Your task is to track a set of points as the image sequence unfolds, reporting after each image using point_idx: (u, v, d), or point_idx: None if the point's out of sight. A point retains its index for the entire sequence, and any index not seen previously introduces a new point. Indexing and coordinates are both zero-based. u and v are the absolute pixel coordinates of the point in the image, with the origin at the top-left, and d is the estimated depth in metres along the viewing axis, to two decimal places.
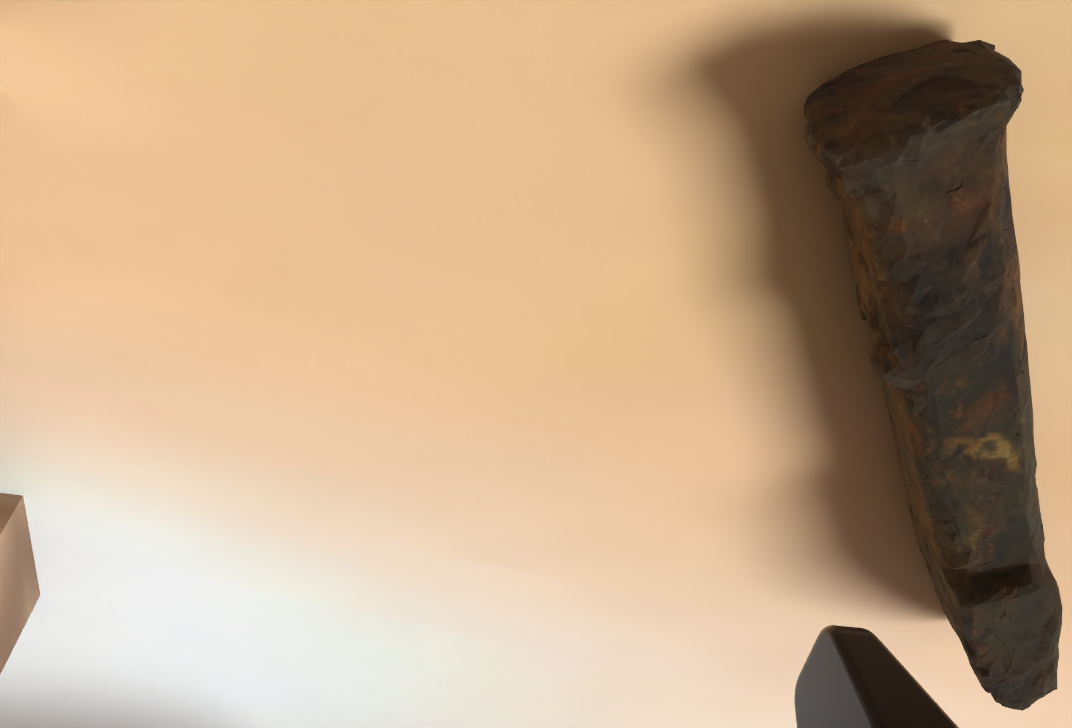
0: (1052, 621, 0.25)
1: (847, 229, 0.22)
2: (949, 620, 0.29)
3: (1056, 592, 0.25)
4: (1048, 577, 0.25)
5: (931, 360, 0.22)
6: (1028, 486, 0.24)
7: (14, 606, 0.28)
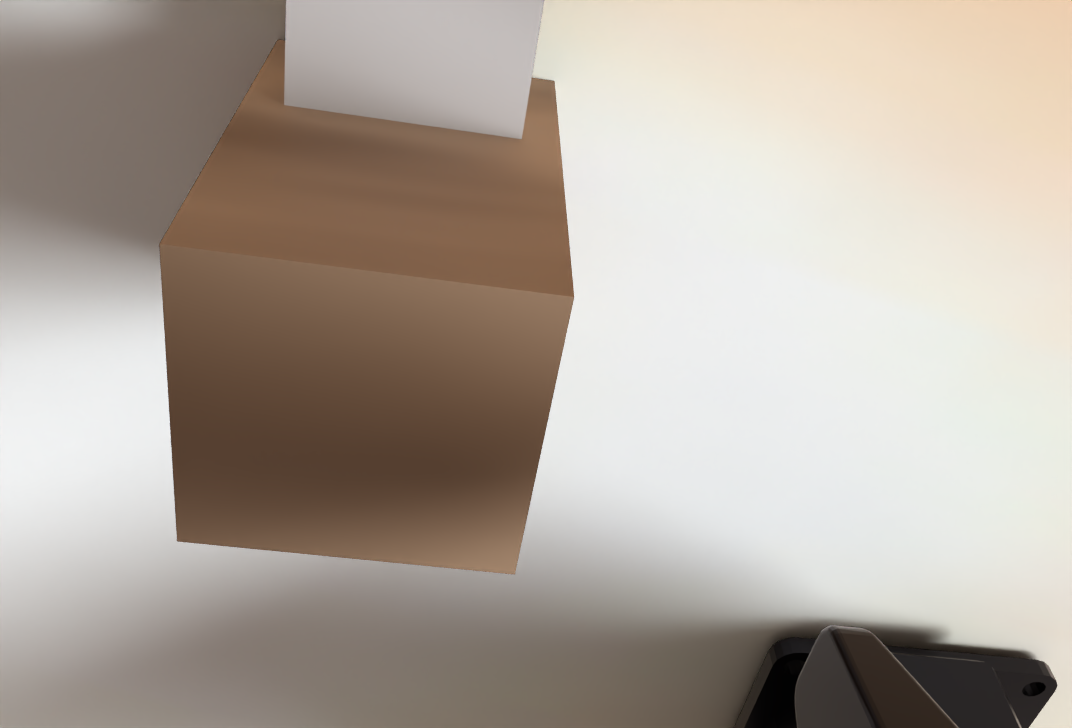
0: None
1: None
2: None
3: None
4: None
5: None
6: None
7: None
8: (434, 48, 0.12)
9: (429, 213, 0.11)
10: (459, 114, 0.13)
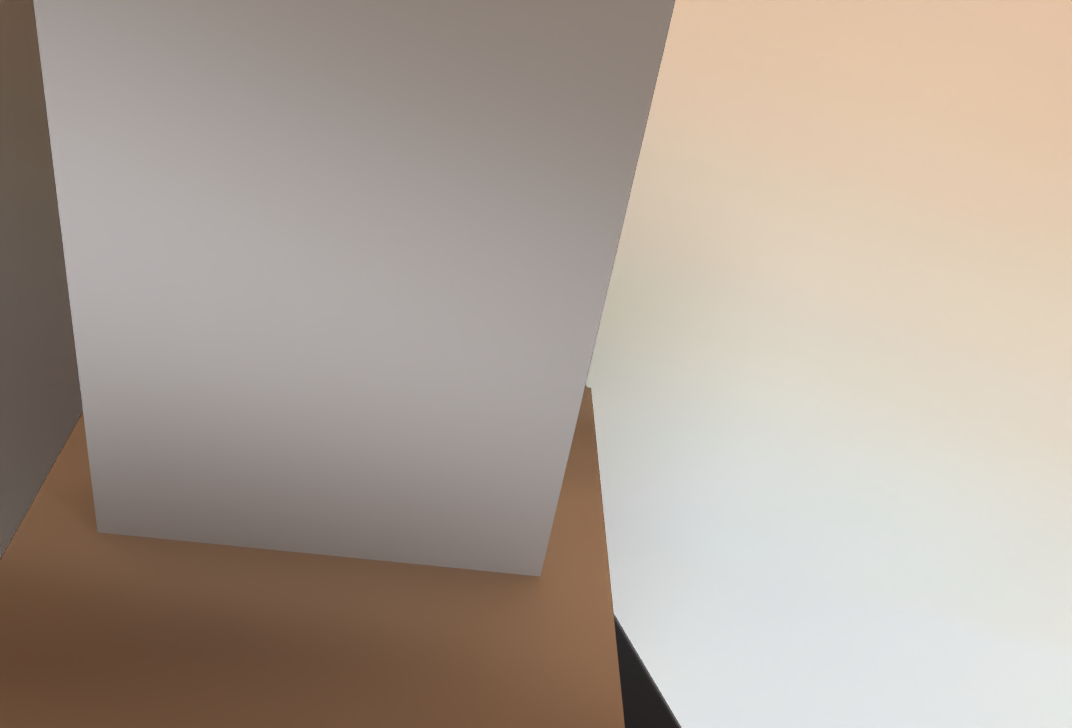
0: None
1: None
2: None
3: None
4: None
5: None
6: None
7: None
8: (375, 448, 0.06)
9: None
10: (425, 543, 0.07)
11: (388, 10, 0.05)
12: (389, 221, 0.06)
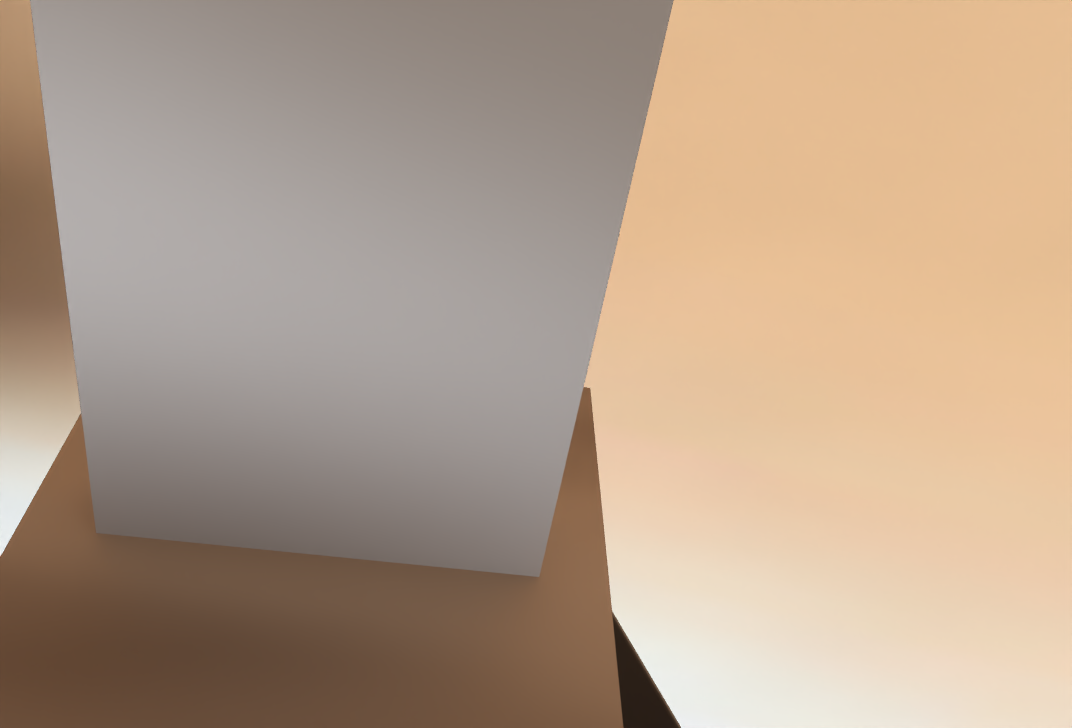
0: None
1: None
2: None
3: None
4: None
5: None
6: None
7: None
8: (373, 449, 0.06)
9: None
10: (424, 543, 0.07)
11: (385, 11, 0.05)
12: (387, 223, 0.06)
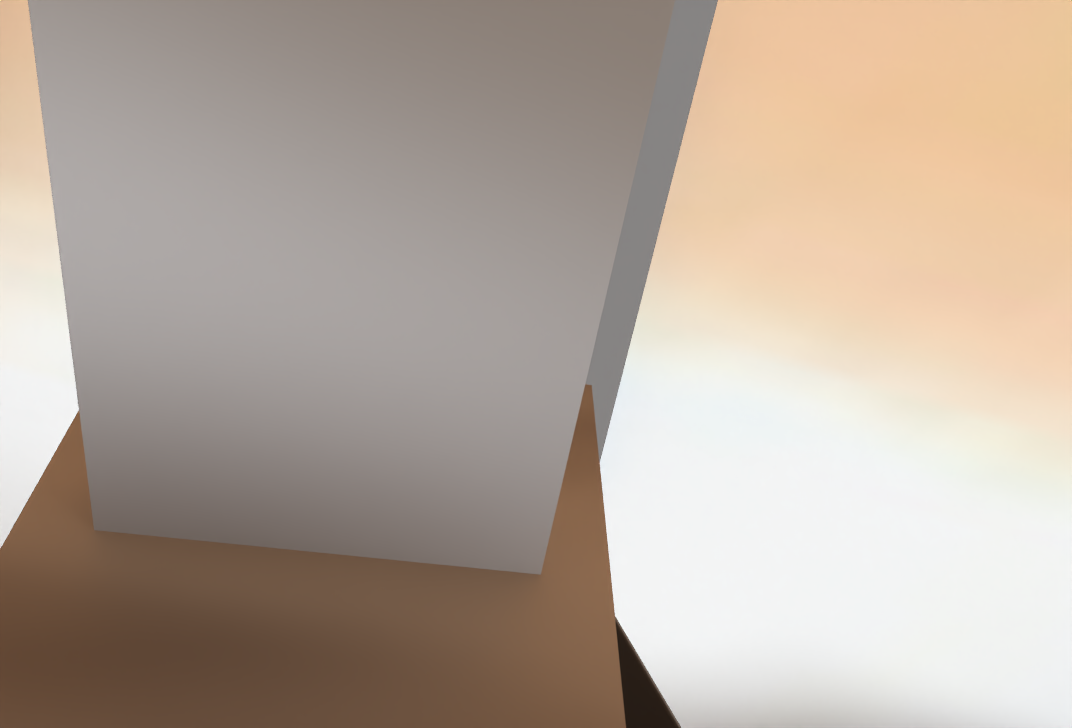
0: None
1: None
2: None
3: None
4: None
5: None
6: None
7: None
8: (374, 445, 0.06)
9: None
10: (423, 540, 0.07)
11: (386, 0, 0.05)
12: (388, 216, 0.05)
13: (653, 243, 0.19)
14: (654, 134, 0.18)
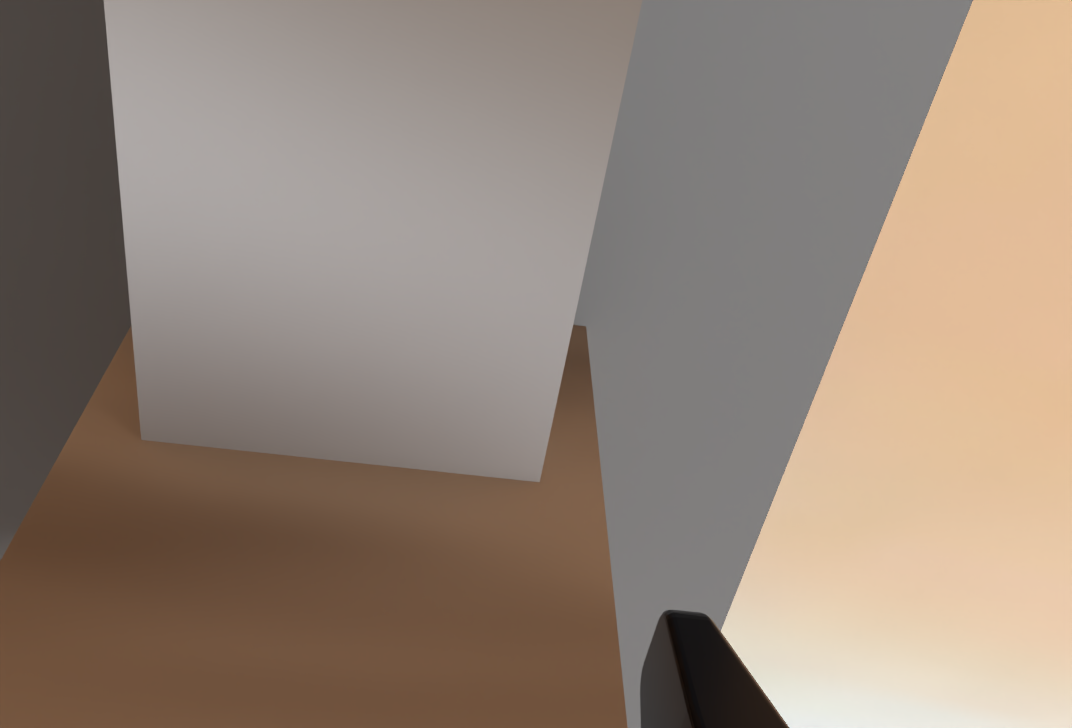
0: None
1: None
2: None
3: None
4: None
5: None
6: None
7: None
8: (391, 359, 0.07)
9: None
10: (436, 450, 0.08)
11: None
12: (405, 147, 0.06)
13: (736, 585, 0.12)
14: (747, 445, 0.11)
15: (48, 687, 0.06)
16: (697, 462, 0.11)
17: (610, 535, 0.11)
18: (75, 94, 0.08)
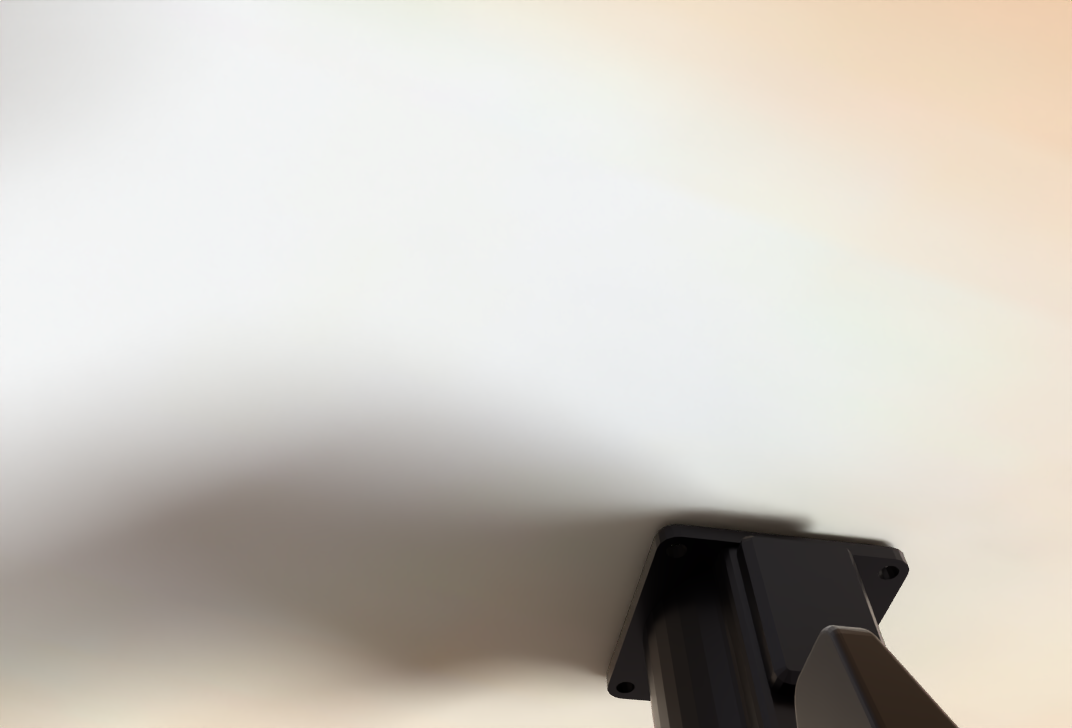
0: None
1: None
2: None
3: None
4: None
5: None
6: None
7: None
8: None
9: None
10: None
11: None
12: None
13: None
14: None
15: None
16: None
17: None
18: None
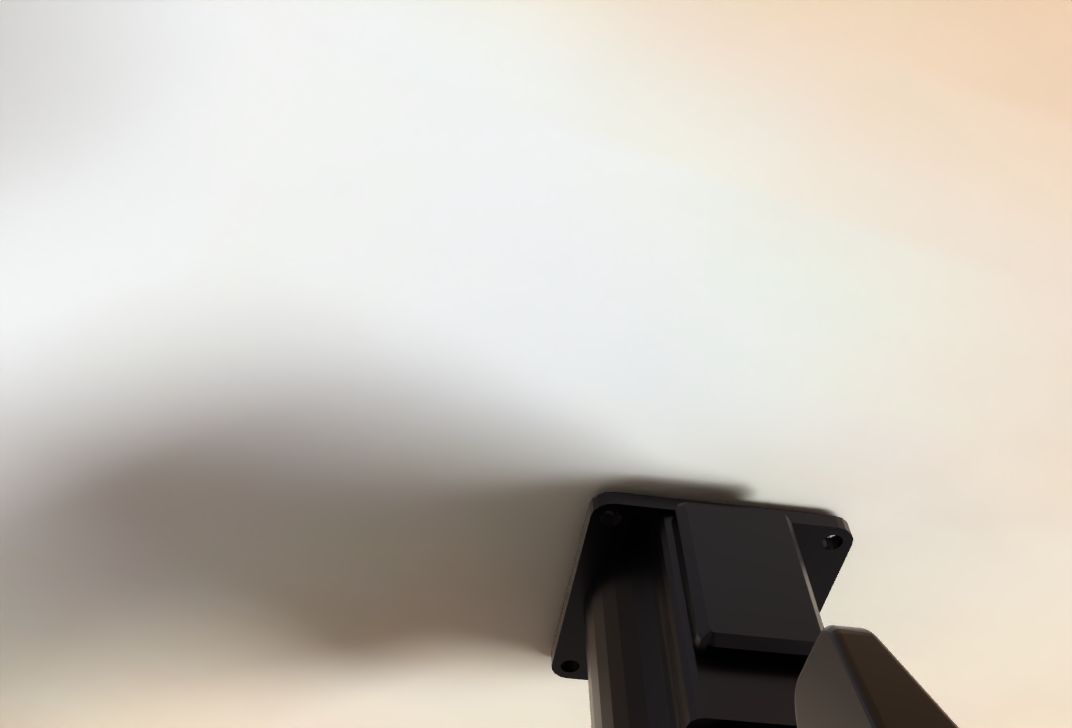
0: None
1: None
2: None
3: None
4: None
5: None
6: None
7: None
8: None
9: None
10: None
11: None
12: None
13: None
14: None
15: None
16: None
17: None
18: None
